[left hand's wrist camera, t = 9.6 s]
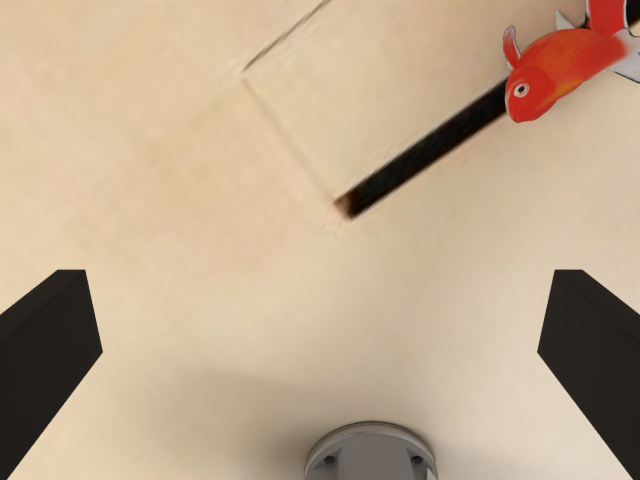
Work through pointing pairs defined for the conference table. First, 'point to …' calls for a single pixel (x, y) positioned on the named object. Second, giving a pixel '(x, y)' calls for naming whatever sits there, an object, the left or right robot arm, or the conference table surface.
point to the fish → (569, 58)
